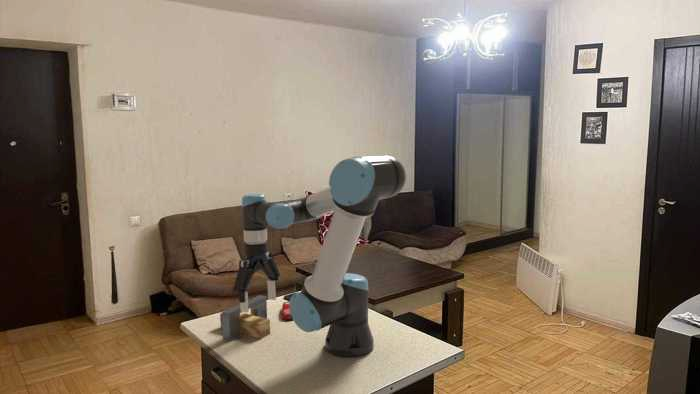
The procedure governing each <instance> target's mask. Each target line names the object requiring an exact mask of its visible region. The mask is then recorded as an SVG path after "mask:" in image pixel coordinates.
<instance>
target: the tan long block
mask: <svg viewBox="0 0 700 394" xmlns="http://www.w3.org/2000/svg"><path fill="white" fill-rule="evenodd" d="M219 315H220V316H219V318H220V320H219V321H220V328H221V329H223V326H222V312H221V313H219ZM240 331H241V334H243V335H247V336H249V337H254V338H257V339H262V340H263V338H265V337H267V336H269V335H271V319H270V318H269V319H268V318H267V319H266V318H262V317H257V316H253V315H251V314H249V313H246V312H241V313H240Z"/></svg>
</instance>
